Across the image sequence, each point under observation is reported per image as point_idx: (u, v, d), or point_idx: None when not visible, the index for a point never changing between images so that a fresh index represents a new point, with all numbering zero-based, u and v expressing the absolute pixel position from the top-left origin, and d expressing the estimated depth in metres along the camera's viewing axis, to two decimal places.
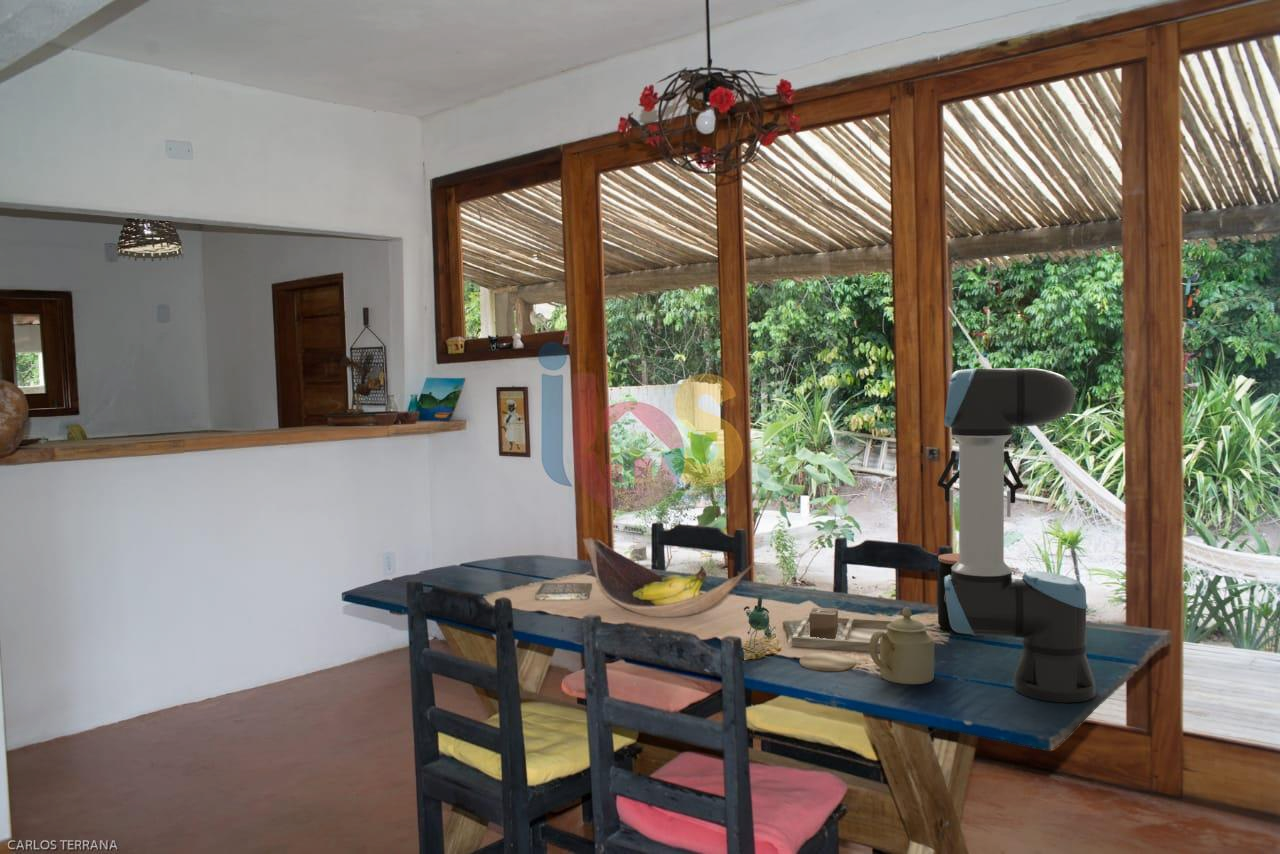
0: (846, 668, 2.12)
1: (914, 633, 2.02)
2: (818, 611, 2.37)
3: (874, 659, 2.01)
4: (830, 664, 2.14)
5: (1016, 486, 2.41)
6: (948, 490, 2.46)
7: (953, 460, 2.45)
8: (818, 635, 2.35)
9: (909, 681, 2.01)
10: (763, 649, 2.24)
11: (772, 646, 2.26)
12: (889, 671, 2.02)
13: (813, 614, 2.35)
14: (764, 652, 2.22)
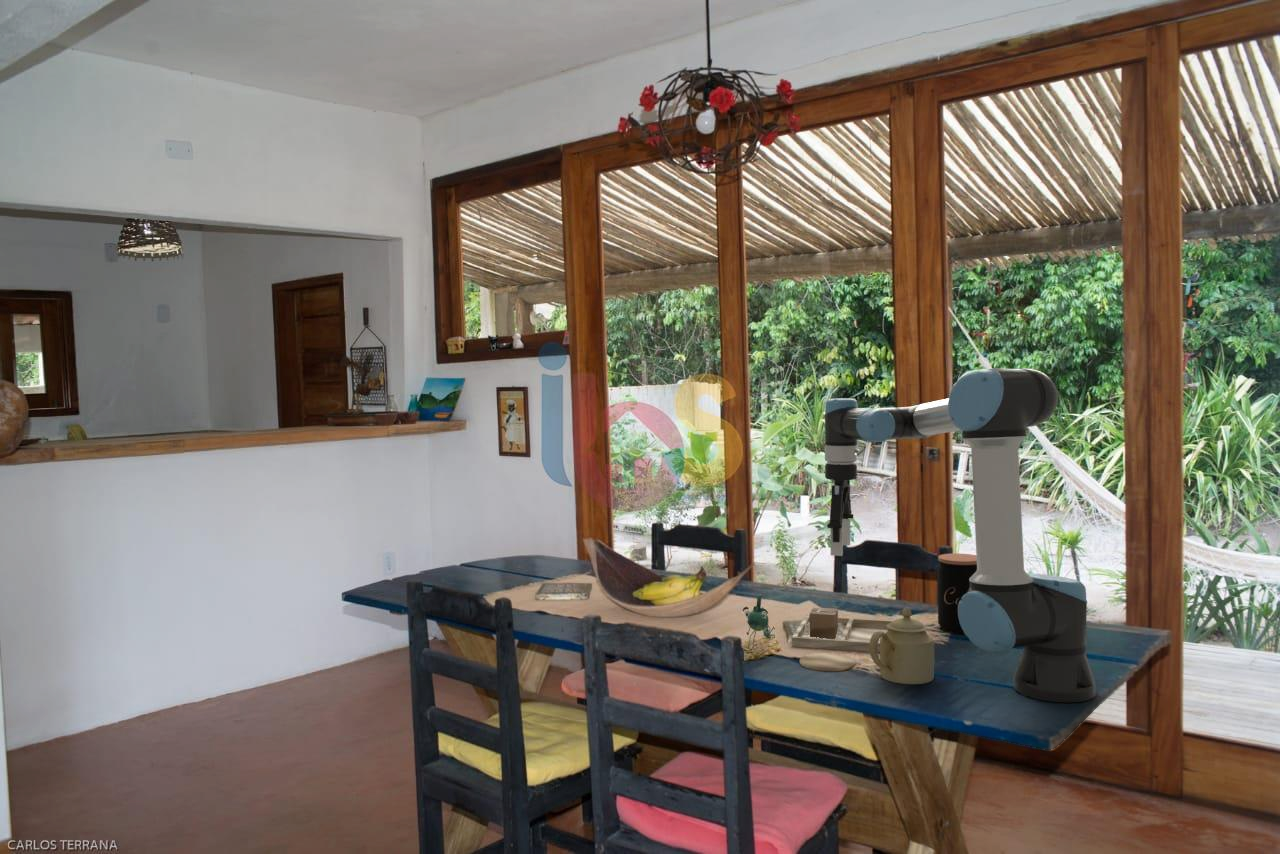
0: (846, 668, 2.12)
1: (914, 633, 2.02)
2: (818, 611, 2.37)
3: (874, 659, 2.01)
4: (830, 664, 2.14)
5: None
6: None
7: None
8: (818, 635, 2.35)
9: (909, 681, 2.01)
10: (762, 650, 2.24)
11: (771, 647, 2.26)
12: (889, 671, 2.02)
13: (813, 614, 2.35)
14: (763, 653, 2.22)
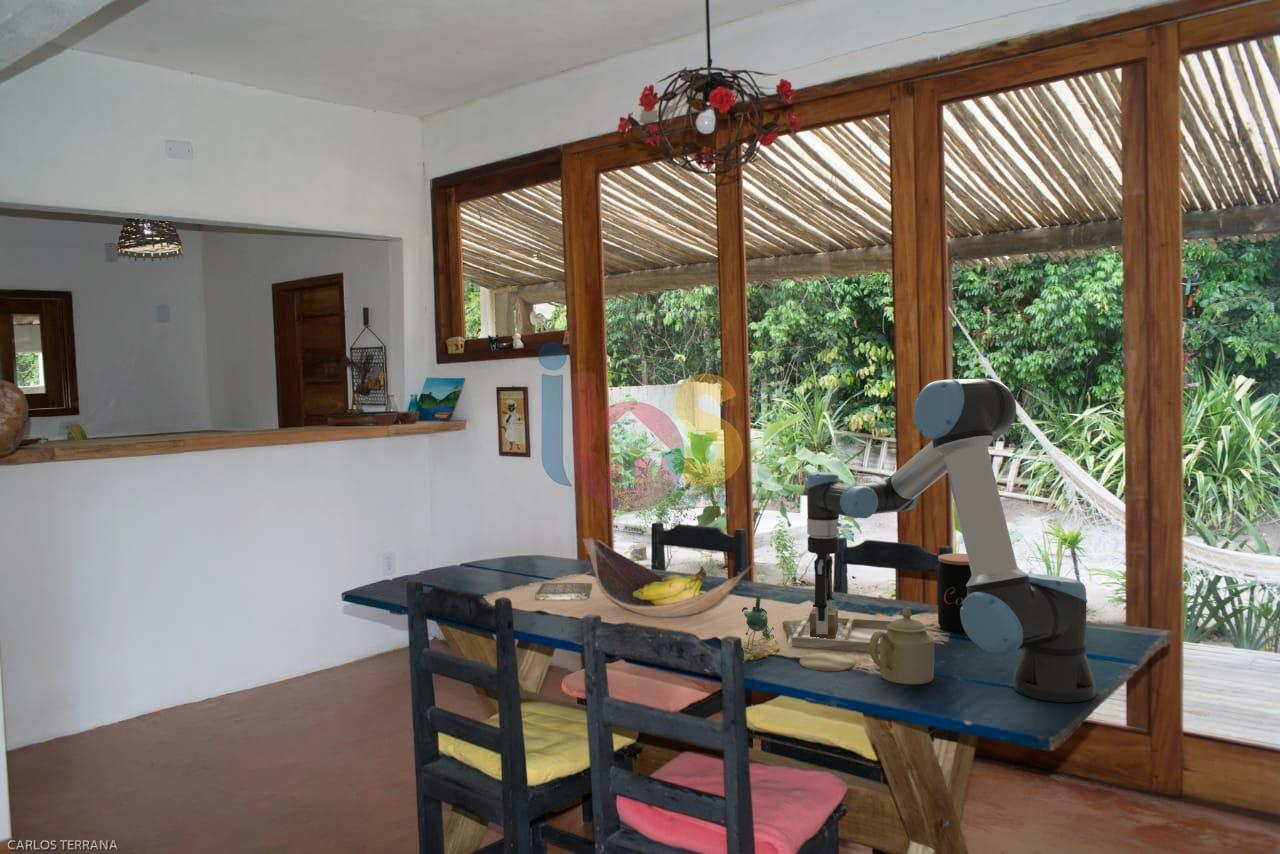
0: (846, 668, 2.12)
1: (914, 633, 2.02)
2: None
3: (874, 659, 2.01)
4: (830, 664, 2.14)
5: None
6: None
7: None
8: (818, 635, 2.35)
9: (909, 681, 2.01)
10: (761, 650, 2.23)
11: (770, 647, 2.26)
12: (889, 671, 2.02)
13: (813, 614, 2.35)
14: (762, 653, 2.22)
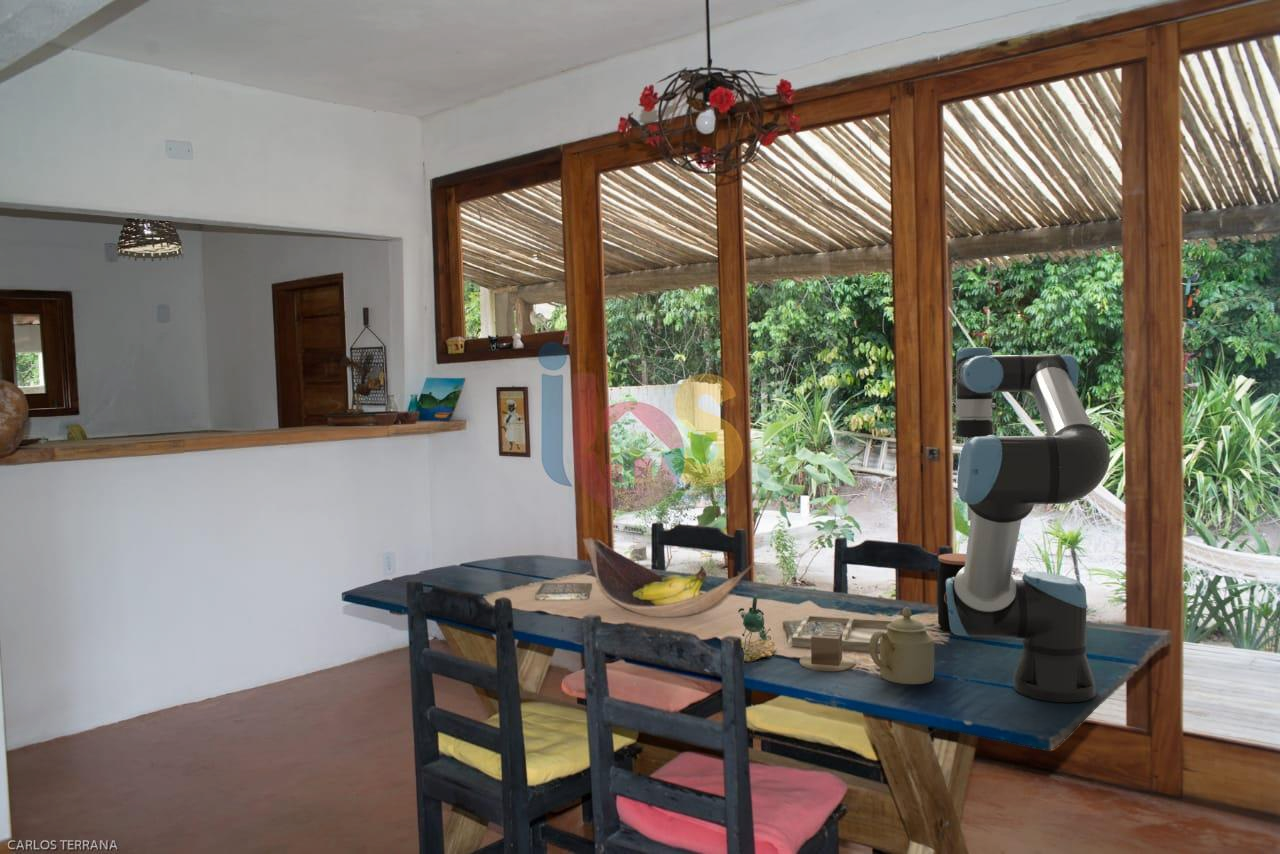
0: (846, 668, 2.12)
1: (914, 633, 2.02)
2: (820, 634, 2.16)
3: (874, 659, 2.01)
4: None
5: None
6: None
7: None
8: (820, 661, 2.14)
9: (909, 681, 2.01)
10: (758, 651, 2.22)
11: (767, 648, 2.24)
12: (889, 671, 2.02)
13: (815, 638, 2.14)
14: (759, 654, 2.20)
